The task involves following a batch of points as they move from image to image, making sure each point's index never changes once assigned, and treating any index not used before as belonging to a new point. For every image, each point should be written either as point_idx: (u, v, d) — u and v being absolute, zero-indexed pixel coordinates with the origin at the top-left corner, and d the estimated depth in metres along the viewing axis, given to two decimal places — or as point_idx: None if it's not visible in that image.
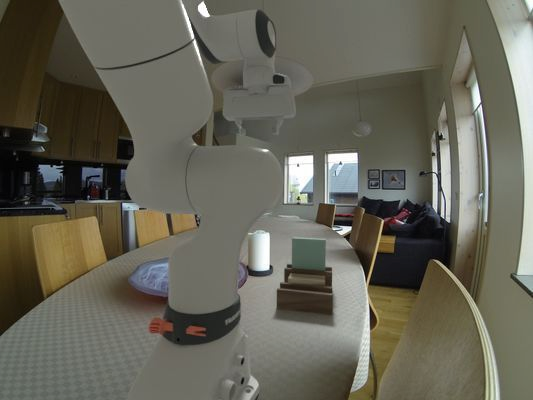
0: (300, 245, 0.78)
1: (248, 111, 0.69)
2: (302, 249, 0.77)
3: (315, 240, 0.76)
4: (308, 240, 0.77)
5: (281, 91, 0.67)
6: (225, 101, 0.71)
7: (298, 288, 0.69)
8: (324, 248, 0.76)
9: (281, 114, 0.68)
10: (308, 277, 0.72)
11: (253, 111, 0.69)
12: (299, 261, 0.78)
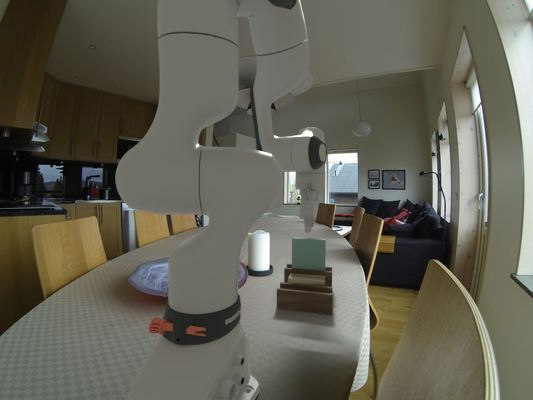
0: (300, 245, 0.78)
1: None
2: (302, 249, 0.77)
3: (315, 240, 0.76)
4: (308, 240, 0.77)
5: None
6: (314, 201, 0.68)
7: (298, 288, 0.69)
8: (324, 248, 0.76)
9: None
10: (308, 277, 0.72)
11: (315, 210, 0.76)
12: (299, 261, 0.78)
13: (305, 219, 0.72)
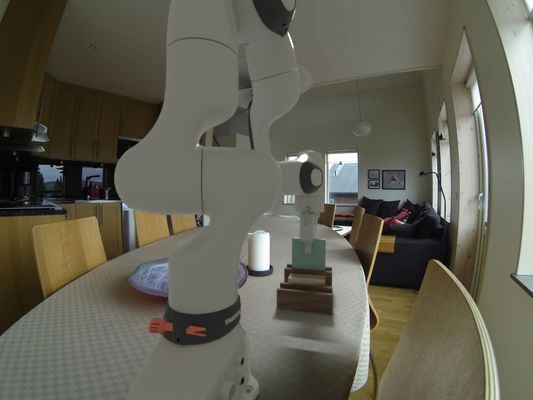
0: (300, 245, 0.77)
1: (314, 233, 0.75)
2: (302, 249, 0.77)
3: (315, 240, 0.76)
4: None
5: None
6: (313, 225, 0.68)
7: (298, 288, 0.69)
8: (324, 248, 0.76)
9: None
10: (308, 277, 0.72)
11: None
12: (299, 261, 0.78)
13: None
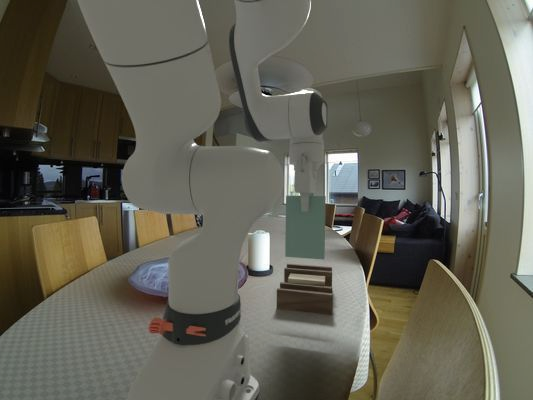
0: (296, 203, 0.66)
1: (312, 187, 0.63)
2: (298, 208, 0.66)
3: (313, 197, 0.65)
4: None
5: (315, 171, 0.72)
6: (310, 172, 0.57)
7: (298, 288, 0.69)
8: (324, 206, 0.64)
9: (313, 192, 0.72)
10: (308, 277, 0.72)
11: None
12: (294, 222, 0.66)
13: (302, 196, 0.63)
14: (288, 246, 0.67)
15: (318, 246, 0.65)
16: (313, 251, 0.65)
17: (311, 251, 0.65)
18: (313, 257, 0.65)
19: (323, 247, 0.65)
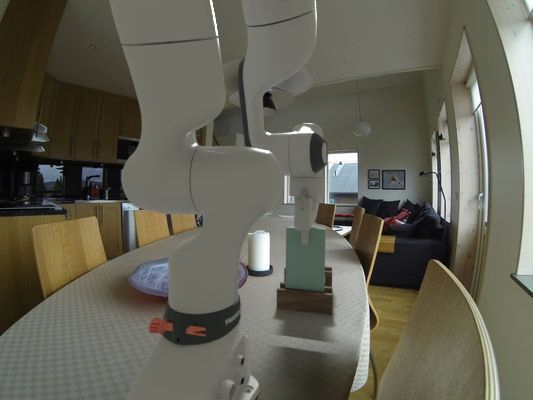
0: (296, 235, 0.66)
1: (312, 221, 0.64)
2: (298, 240, 0.66)
3: (313, 230, 0.65)
4: None
5: None
6: (310, 211, 0.57)
7: None
8: (324, 239, 0.65)
9: None
10: None
11: None
12: (295, 254, 0.67)
13: None
14: (288, 277, 0.67)
15: (318, 278, 0.65)
16: (313, 283, 0.66)
17: (311, 283, 0.66)
18: (313, 289, 0.66)
19: (323, 279, 0.65)
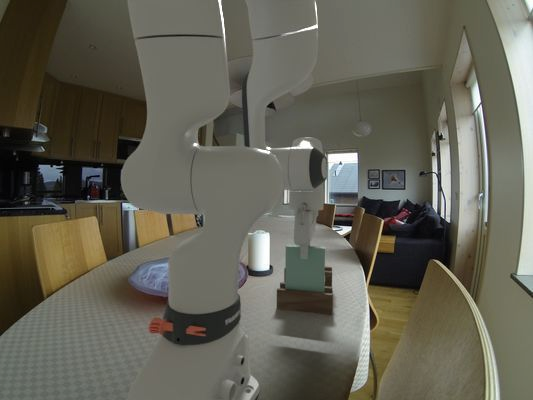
0: (295, 254, 0.66)
1: None
2: (297, 259, 0.66)
3: (312, 249, 0.65)
4: None
5: None
6: (310, 225, 0.57)
7: None
8: (323, 258, 0.65)
9: None
10: None
11: (312, 233, 0.65)
12: (294, 273, 0.67)
13: None
14: None
15: None
16: None
17: None
18: None
19: None
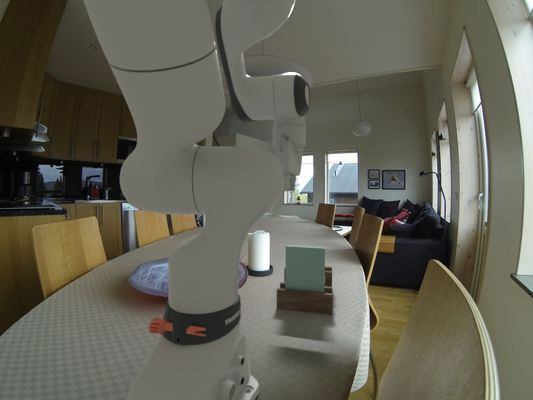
0: (295, 254, 0.66)
1: (294, 167, 0.66)
2: (297, 259, 0.66)
3: (313, 249, 0.65)
4: (304, 249, 0.66)
5: (300, 154, 0.74)
6: (289, 152, 0.59)
7: None
8: (323, 258, 0.65)
9: (298, 174, 0.75)
10: None
11: (294, 168, 0.67)
12: (294, 273, 0.67)
13: None
14: None
15: None
16: None
17: None
18: None
19: None
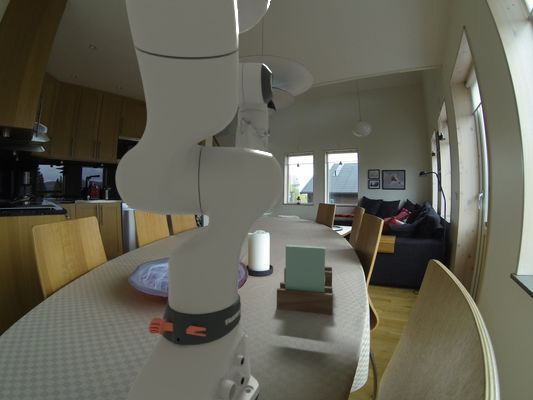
0: (295, 254, 0.66)
1: None
2: (297, 259, 0.66)
3: (313, 249, 0.65)
4: (304, 249, 0.66)
5: (265, 140, 0.80)
6: (249, 134, 0.65)
7: None
8: (323, 258, 0.65)
9: None
10: None
11: None
12: (294, 273, 0.67)
13: None
14: None
15: None
16: None
17: None
18: None
19: None
